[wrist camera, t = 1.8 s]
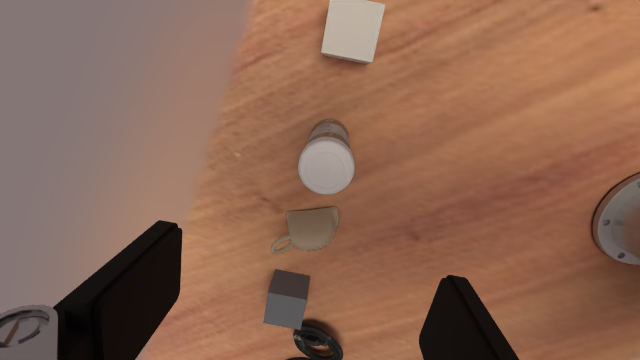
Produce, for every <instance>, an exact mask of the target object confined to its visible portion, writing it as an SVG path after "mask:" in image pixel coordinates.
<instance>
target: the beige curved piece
mask: <svg viewBox="0 0 640 360" xmlns="http://www.w3.org/2000/svg"><path fill="white" fill-rule="evenodd" d="M286 218H287V224H288V234H287V235H284V236H282V237H280V238H279V239H277V240H276V241H275V242H274V243H273V244H272V246H271V252H272V253H273V254H280V253H283V252H285V251H287V250H289V249H290V248H291V247H293V246H295V247H296V248H299V249H301V250H308V251H310V250H315V251H316V250H317V249H318V248H320V249H321V248H322V247H324V246H326V245H327V244H328V243H329V242H331V240H332V238H334V233H335V231H336V228H337V226H338V223H339V216H338V210H337V207H329V208H322V209H314V210H306V211H288V212H286ZM287 239H289V240H290V243H289V244H288V245H286V246H285V247H283V248H281V249H279V250H275V248H276V246H277V245H278V244H280V243H281V242H283V241H285V240H287Z"/></svg>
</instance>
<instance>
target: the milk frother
mask: <svg viewBox="0 0 640 360" xmlns="http://www.w3.org/2000/svg"><path fill="white" fill-rule="evenodd" d="M293 338H294V342H295V344H296V346H297V348H298V349H299V350H300V351H301V352H303V353H304V354H305V355H306V356H308V357H309V358H311V359H313V360H342V358H343V351H342V348H341V347H340V345H339V344H338V342H337V341H336V340H335V339H334V338H333V337H332V336H331V335H330V334H328V333H327V332H326V331H324V330H323V329H321V328H319V327H317V326H314V325H311V324H302V325H301V330H298V329H295V332H294V337H293ZM306 345H308V346H319V345H322V346H325V347H326V346H327V345H328V346H329V347H330V348H331V350H332V352H333V354H332V355H331V356H323V355H319V354H317V353H315V352H314V351H312V350H310V349H309V348H308V347H307V346H306ZM290 360H310V359H304V358H294V359H290Z"/></svg>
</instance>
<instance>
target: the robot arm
mask: <svg viewBox="0 0 640 360" xmlns="http://www.w3.org/2000/svg"><path fill="white" fill-rule="evenodd" d="M593 236H594V239H595V242H596V243H597V245H598V246H599V248H600V249H601V250H602V251H603V252H604V253H606V254H607V255H609V256H610V257H612V258H613V259H615V260H617V261H620V262H622V263H627V264H633V265H640V173H639V174H637V175H635V176H632V177H630V178H628V179H627V180H625V181H624V182H622V183H620V184H619V185H618V186H616V187H615V188H614V189H613V190H612V191H611V192H610V193H609V194H608V195H607V196H606V197H605V198H604V199H603V201H602V202H601V204H600V206H599V207H598V209H597V211H596V214H595V216H594V221H593ZM181 251H182V229H181V228H178V225H177V224H176V223H172V222H166V221H161V220H159V221H157V222H156V223H155V224H154V225H153V226H151V227H150V228H149V229H148V230H146V231H145V232H144V233H143V234H142V235H140V236H139V237H138V238H137V239H135V240H134V241H133V242H132V243H131V244H129V245H128V246H127V247H126V248H125V249H123V250H122V251H121V252H120V253H119V254H117V255H116V256H115V257H114V258H112V259H111V260H110V261H109V262H107V263H106V264H105V265H104V266H103V267H101V268H100V269H99V270H98V271H97V272H95V273H94V274H93V275H92V276H91V277H89V278H88V279H87V280H86V281H84V282H83V283H82V284H81V285H80V286H78V287H77V288H76V289H75V290H74V291H72V292H71V293H70V294H69V295H67V296H66V297H65V298H64V299H63V300H61V301H60V302H59V303H58V304H57V305H55V306H54V307H53V308H51V307H49V306H45V305H29V306H22V307H18V308H15V309H12V310H8V311H6V312H4V313H2V314H0V360H135V359H136V357H137V356H138V355H139V353H140V352H141V350H142V349H143V348H144V346H145V345H146V343H147V342H148V340H149V339H150V338H151V336H152V335H153V333H154V332H155V330H156V329H157V328H158V326H159V325H160V323H161V322H162V321H163V319H164V318H165V316H166V315H167V313H168V312H169V311H170V309H171V308H172V306H173V305H174V303H175V302H176V300H177V299H178V296H179V293H180V277H181ZM419 345H420V349H421V352H422V355H423V358H424V360H519V359H518V357H517V355H516V354H515V352H514V351H513V349H512V348H511V346H510V345H509V343H508V342H507V340H506V338H505V337H504V335H503V334H502V332H501V331H500V329H499V328H498V326H497V324H496V323H495V321H494V320H493V318H492V317H491V315H490V314H489V312H488V311H487V309H486V307H485V306H484V304H483V303H482V301H481V300H480V298H479V297H478V295H477V293H476V292H475V290H474V289H473V287H472V286H471V284H470V283H469V281H468V280H467V279H466V278H464V277H459V276H453V275H448V276H447V277H446V278H442V279H441V281H440V283H439V286H438V289H437V291H436V294H435V296H434V299H433V302H432V304H431V307H430V309H429V312H428V315H427V317H426V320H425V322H424V325H423V328H422V330H421V333H420V336H419Z"/></svg>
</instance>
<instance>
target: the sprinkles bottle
mask: <svg viewBox="0 0 640 360" xmlns="http://www.w3.org/2000/svg"><path fill="white" fill-rule="evenodd" d="M354 168H355V167H354V159H353V155H352V152H351V150H350V146H349V140H348V132H347V130H346V128H345V126H344V125H343V124H342V123H340V122H339V121H337V120H333V119H327V120H323V121H320V122H319V123H318V124H317V125H315V127H314V129H313V130H312V133H311V135H310V137H309V140H308V142H307V144H306V146H305V148H304V149H303V151H302V153H301V156H300V159H299V163H298V172H299V176H300V178H301V180H302V182H303V183H304V185H305V186H306V187H307V188H309V189H310V190H312V191H313V192H316V193H319V194H324V195H329V194H335V193H337V192H340V191H341V190H343V189H344V188H345V187H346V186H347V185H348V184H349V183H350V181H351V180H352V178H353V175H354Z"/></svg>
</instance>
